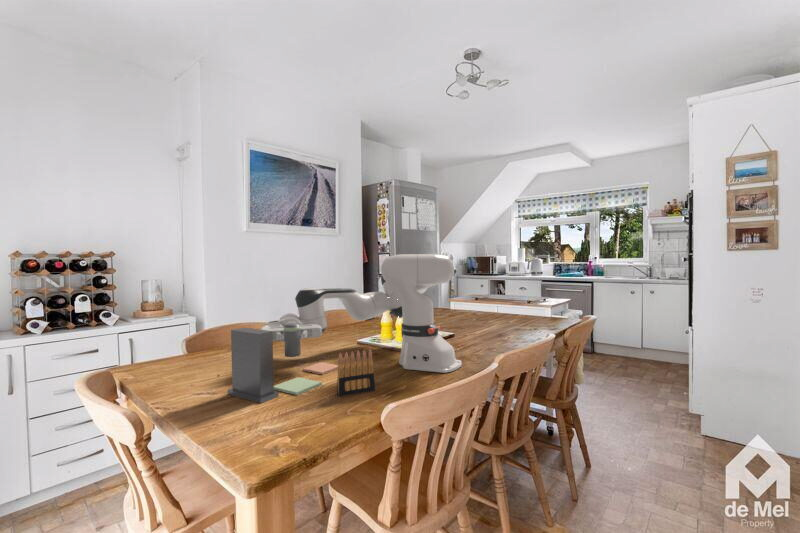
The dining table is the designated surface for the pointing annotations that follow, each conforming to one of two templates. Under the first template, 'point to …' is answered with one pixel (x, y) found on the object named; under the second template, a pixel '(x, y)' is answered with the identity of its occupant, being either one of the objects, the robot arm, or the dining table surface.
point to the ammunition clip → (355, 374)
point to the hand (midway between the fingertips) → (292, 337)
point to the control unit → (252, 364)
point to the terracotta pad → (321, 368)
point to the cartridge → (292, 339)
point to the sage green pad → (297, 386)
